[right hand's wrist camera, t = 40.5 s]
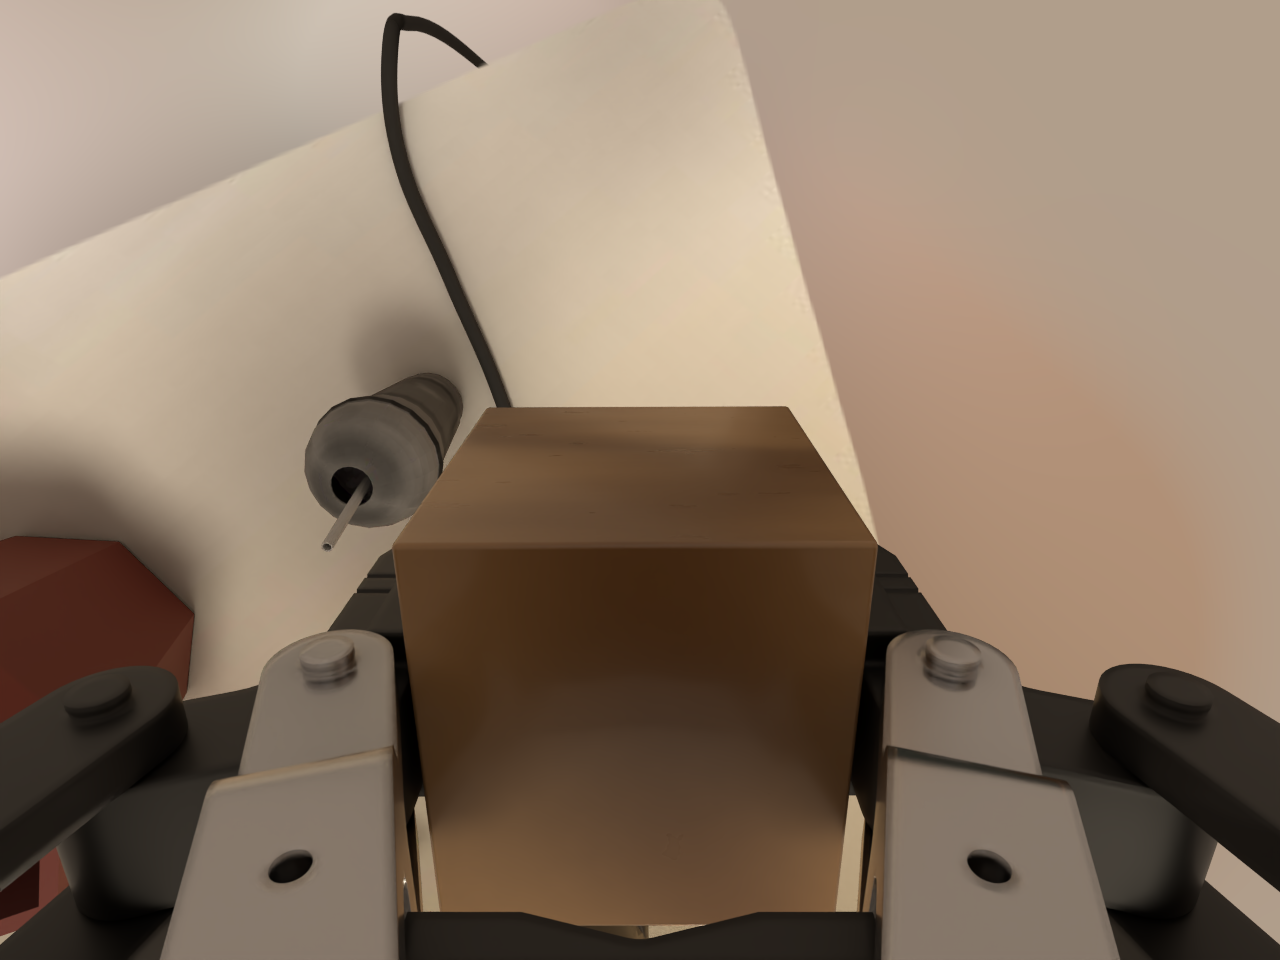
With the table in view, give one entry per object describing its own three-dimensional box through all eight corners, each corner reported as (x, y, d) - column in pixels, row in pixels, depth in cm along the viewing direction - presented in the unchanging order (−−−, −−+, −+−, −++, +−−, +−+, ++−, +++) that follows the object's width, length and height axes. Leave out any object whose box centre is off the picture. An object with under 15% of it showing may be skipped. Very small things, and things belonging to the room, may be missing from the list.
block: (507, 680, 13) (441, 928, 9) (485, 407, 12) (389, 545, 7) (770, 679, 13) (835, 927, 9) (789, 404, 12) (880, 543, 7)
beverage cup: (461, 339, 52) (358, 427, 33) (497, 439, 54) (422, 574, 35) (360, 369, 52) (203, 471, 34) (400, 466, 55) (276, 612, 36)
